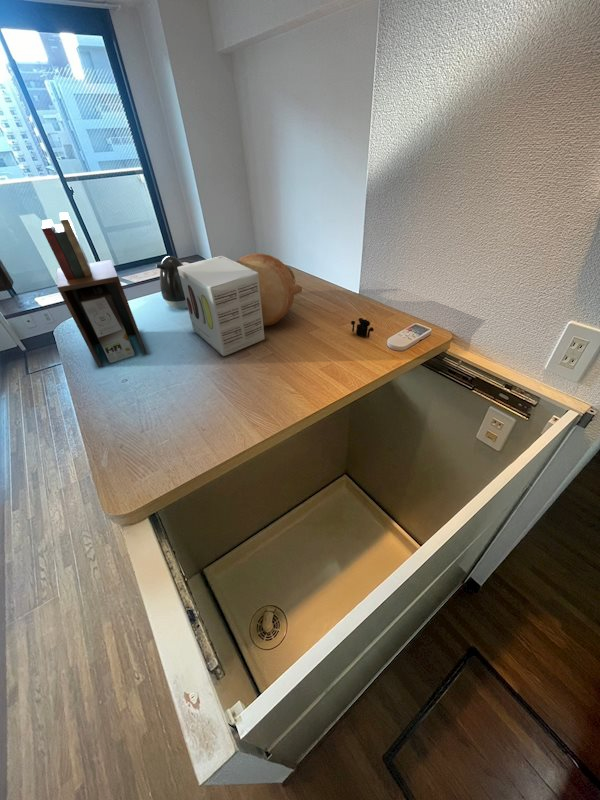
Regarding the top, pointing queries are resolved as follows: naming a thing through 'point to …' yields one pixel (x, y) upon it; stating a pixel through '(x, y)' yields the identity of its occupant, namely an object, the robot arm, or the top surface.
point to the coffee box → (105, 322)
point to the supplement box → (223, 303)
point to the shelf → (85, 281)
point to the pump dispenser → (171, 282)
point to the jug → (272, 285)
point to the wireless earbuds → (362, 327)
